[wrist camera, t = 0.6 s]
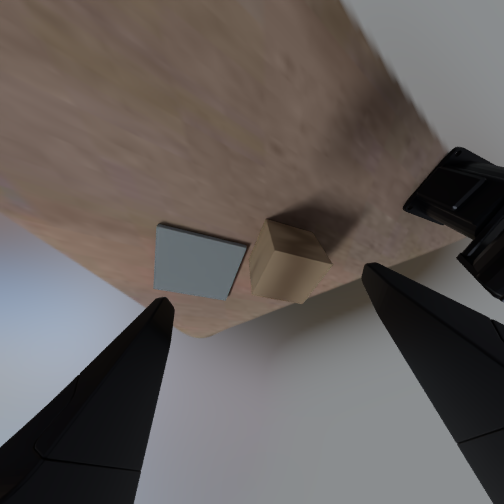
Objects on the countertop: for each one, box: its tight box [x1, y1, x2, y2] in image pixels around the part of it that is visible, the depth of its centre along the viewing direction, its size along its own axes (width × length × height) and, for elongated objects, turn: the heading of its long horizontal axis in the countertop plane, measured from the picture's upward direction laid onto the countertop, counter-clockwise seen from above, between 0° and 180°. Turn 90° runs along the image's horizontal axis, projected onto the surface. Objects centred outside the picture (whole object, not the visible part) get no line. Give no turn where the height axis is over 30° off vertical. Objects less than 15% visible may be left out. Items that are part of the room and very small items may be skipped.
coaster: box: [154, 224, 246, 300], centre depth 24 cm, size 10×10×1 cm
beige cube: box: [249, 219, 333, 304], centre depth 21 cm, size 6×6×6 cm
